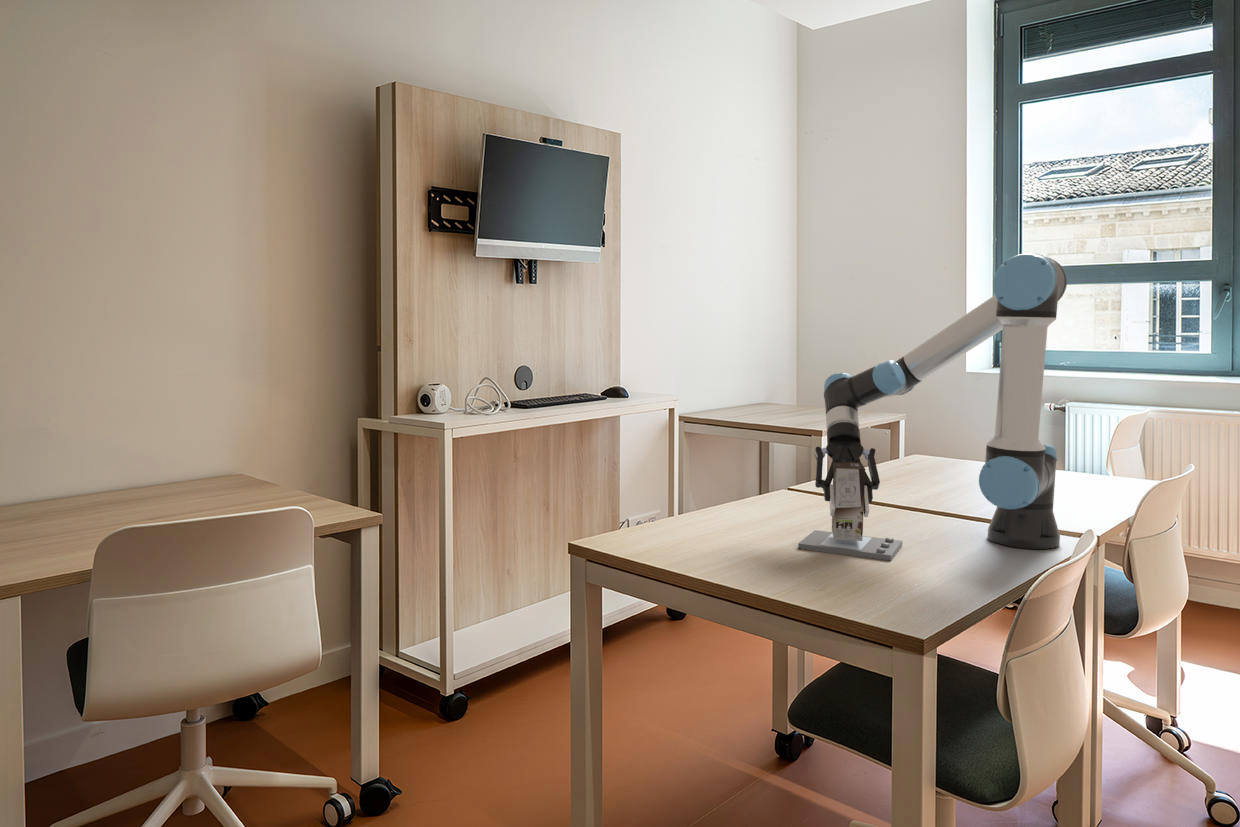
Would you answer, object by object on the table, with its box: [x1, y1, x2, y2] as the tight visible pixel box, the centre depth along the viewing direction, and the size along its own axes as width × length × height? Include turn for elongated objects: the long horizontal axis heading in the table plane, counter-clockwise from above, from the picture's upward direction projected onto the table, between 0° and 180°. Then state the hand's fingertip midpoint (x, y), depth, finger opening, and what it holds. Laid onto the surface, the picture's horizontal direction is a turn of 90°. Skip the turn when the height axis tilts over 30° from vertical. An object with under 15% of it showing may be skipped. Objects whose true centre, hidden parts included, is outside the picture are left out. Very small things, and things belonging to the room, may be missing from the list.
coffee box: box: [831, 462, 866, 541], centre depth 191 cm, size 9×6×16 cm
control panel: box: [797, 529, 903, 561], centre depth 192 cm, size 20×14×2 cm
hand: (849, 513), depth 188 cm, fingers closed on coffee box, 7 cm apart
